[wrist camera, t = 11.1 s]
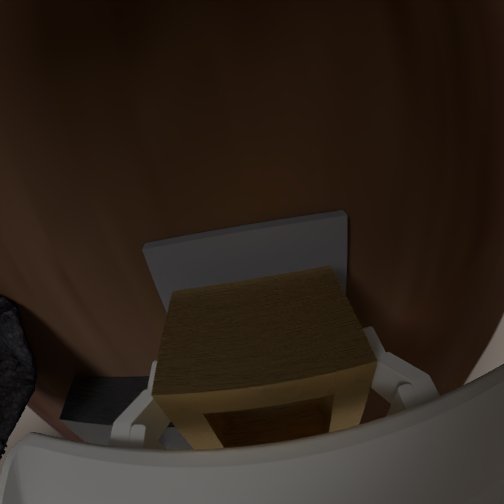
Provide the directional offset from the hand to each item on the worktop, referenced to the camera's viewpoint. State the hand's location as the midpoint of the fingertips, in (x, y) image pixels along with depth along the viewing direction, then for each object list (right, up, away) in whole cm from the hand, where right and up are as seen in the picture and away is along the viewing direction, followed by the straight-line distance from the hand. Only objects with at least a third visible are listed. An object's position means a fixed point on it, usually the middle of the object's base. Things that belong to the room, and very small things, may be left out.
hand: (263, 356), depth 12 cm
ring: (0, +1, +1) cm, 1 cm away
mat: (0, +2, +3) cm, 4 cm away
